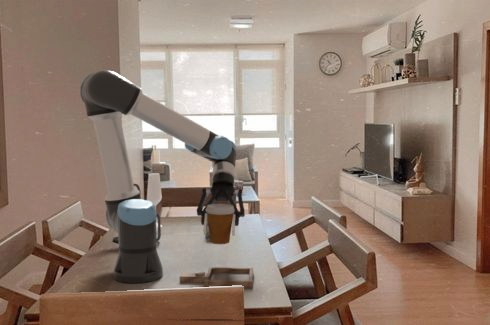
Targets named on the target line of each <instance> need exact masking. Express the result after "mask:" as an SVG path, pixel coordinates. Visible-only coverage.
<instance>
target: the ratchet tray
mask: <svg viewBox="0 0 490 325" xmlns="http://www.w3.org/2000/svg"><path fill="white" fill-rule="evenodd" d="M253 280H254V267H222V266H221V267H220V266H219V267H216V266H215V267H208V269H207V271H206V272H205V271H203V270H200V271H195V272H181V273H180V275H179V283H203V288H204V287H209V286H232V285H242V286H244V288H243V289H253V282H254V281H253Z"/></svg>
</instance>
